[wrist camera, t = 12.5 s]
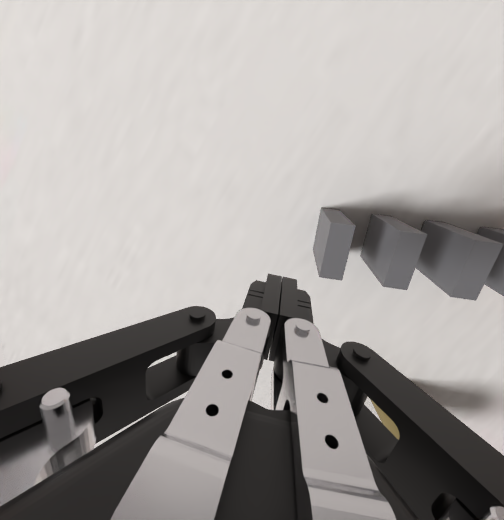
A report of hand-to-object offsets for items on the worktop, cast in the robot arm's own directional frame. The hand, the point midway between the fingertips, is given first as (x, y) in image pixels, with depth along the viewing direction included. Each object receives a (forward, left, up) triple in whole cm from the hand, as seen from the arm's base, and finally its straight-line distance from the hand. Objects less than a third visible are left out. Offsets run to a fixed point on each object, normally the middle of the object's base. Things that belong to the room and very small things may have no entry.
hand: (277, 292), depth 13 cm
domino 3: (0, -16, -18) cm, 23 cm away
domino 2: (0, -10, -18) cm, 20 cm away
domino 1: (0, -5, -18) cm, 18 cm away
